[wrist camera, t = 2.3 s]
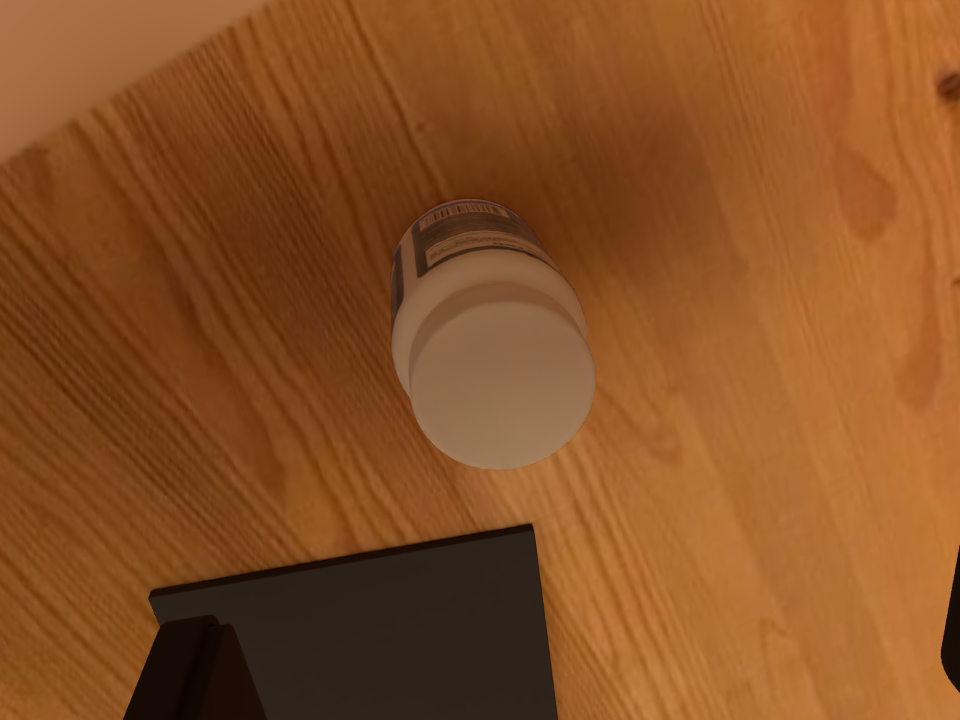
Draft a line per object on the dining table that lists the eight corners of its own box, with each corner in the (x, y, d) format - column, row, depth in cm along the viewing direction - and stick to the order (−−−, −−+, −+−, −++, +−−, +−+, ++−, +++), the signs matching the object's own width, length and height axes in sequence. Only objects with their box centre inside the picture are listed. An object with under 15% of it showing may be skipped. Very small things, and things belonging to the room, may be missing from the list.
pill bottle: (488, 366, 25) (530, 519, 17) (362, 295, 23) (348, 429, 16) (572, 247, 23) (659, 357, 16) (445, 164, 22) (473, 241, 14)
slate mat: (251, 834, 33) (250, 843, 33) (150, 590, 27) (147, 598, 27) (564, 775, 34) (566, 783, 33) (532, 523, 28) (534, 530, 27)
